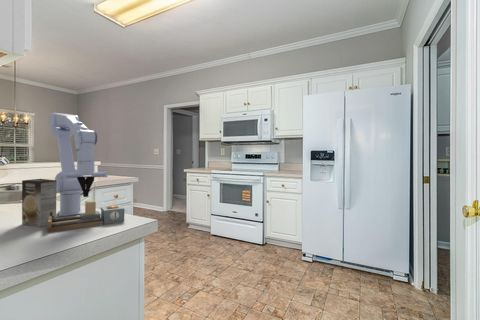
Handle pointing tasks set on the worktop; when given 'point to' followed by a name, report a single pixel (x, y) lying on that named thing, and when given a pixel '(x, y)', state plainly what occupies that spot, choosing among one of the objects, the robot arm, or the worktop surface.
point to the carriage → (90, 211)
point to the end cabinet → (112, 214)
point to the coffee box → (38, 201)
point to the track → (71, 223)
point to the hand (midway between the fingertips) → (85, 196)
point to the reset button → (112, 207)
